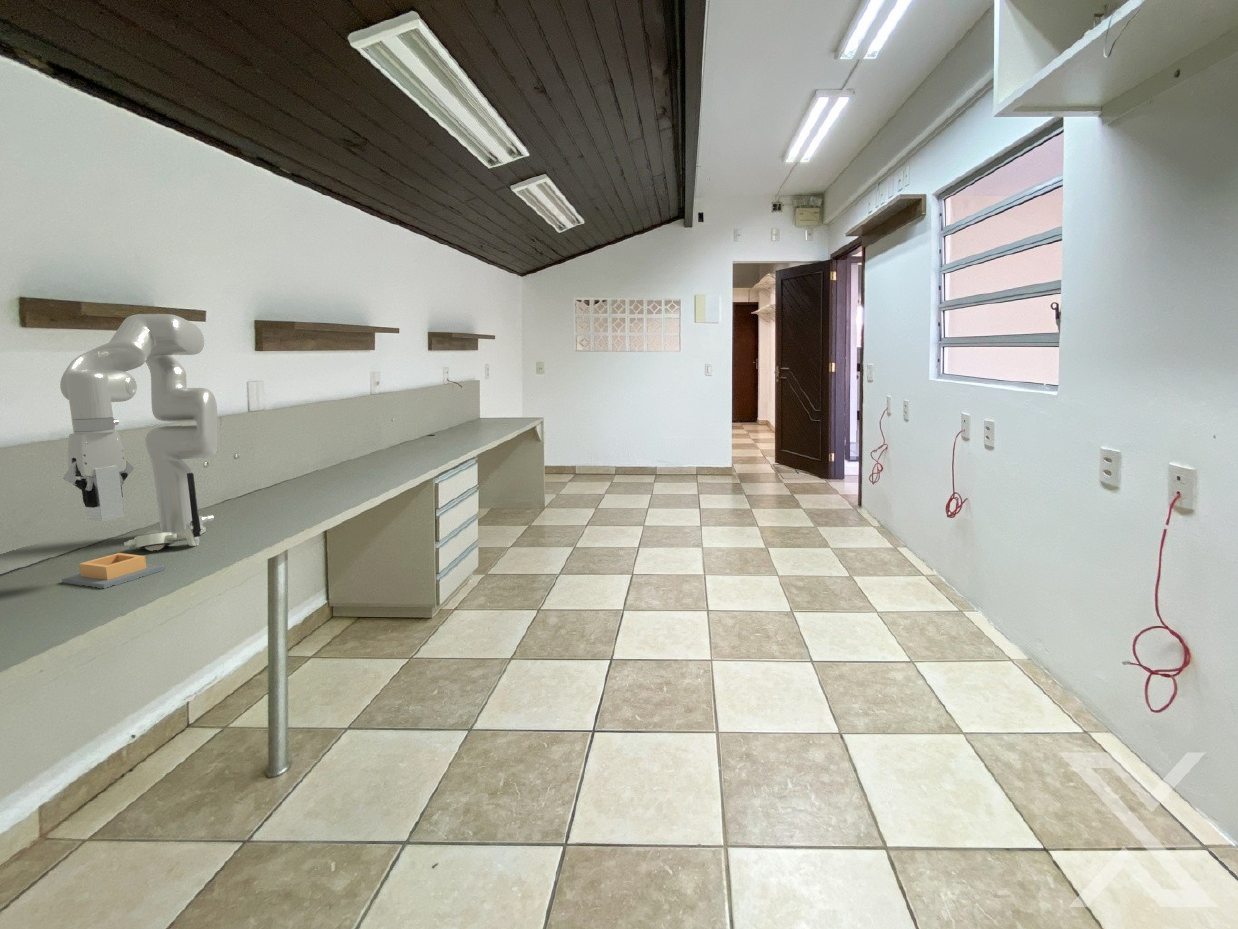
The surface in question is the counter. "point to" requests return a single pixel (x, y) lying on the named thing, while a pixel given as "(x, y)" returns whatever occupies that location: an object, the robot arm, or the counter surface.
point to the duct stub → (106, 495)
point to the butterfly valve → (161, 539)
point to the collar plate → (112, 570)
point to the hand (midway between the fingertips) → (104, 503)
